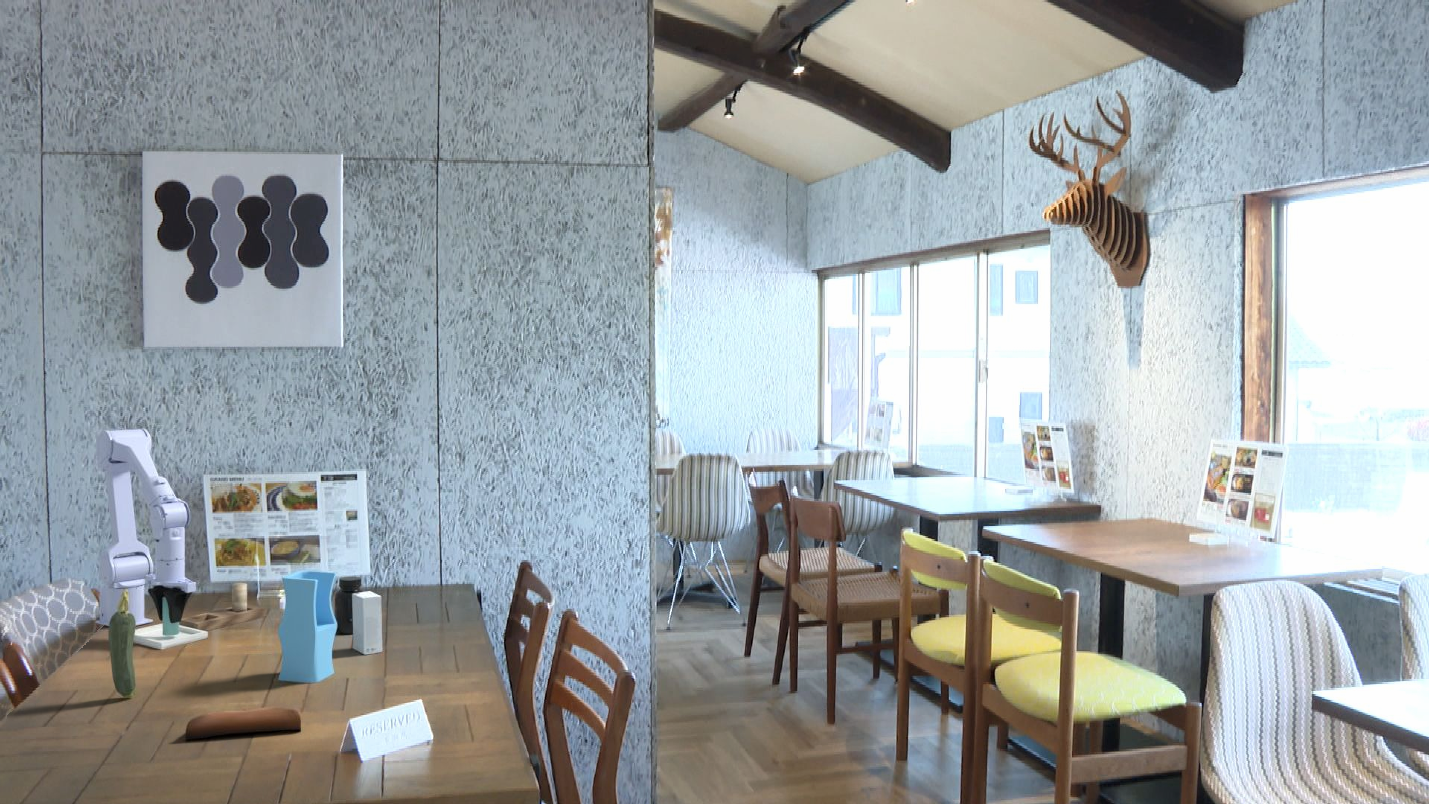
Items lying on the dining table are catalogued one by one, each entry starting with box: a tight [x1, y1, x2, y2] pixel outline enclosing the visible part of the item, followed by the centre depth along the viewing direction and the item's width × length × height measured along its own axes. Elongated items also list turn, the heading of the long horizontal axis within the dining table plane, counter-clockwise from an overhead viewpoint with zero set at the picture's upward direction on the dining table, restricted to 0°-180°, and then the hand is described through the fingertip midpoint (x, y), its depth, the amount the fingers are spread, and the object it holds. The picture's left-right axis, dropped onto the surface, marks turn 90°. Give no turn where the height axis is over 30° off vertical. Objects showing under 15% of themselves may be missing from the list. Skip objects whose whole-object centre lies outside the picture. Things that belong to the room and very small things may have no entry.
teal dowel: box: [162, 597, 179, 636], centre depth 245 cm, size 3×3×8 cm
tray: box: [133, 622, 209, 651], centre depth 246 cm, size 14×11×1 cm
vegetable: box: [108, 589, 137, 700], centre depth 205 cm, size 4×4×20 cm
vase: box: [277, 569, 338, 684], centre depth 222 cm, size 8×8×20 cm
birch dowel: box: [231, 582, 248, 613], centre depth 264 cm, size 3×3×8 cm
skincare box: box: [352, 590, 383, 655], centre depth 240 cm, size 6×4×12 cm
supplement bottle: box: [333, 576, 365, 635], centre depth 256 cm, size 7×7×12 cm
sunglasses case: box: [184, 706, 302, 742], centre depth 192 cm, size 18×7×7 cm
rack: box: [179, 603, 267, 632], centre depth 261 cm, size 18×7×2 cm, turn 150°
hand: (170, 620), depth 245 cm, fingers closed on teal dowel, 3 cm apart
